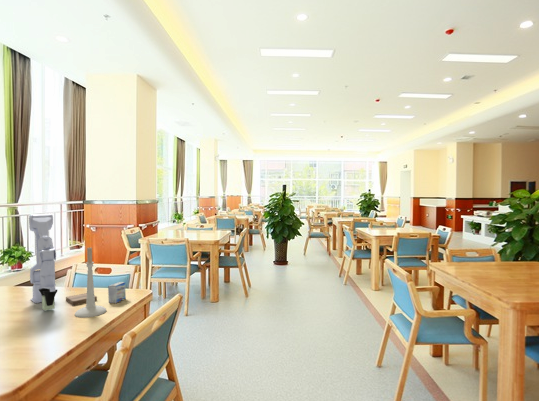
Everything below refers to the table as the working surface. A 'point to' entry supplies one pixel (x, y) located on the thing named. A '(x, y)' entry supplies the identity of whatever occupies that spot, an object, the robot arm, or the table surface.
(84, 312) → the candlestick
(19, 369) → the table surface
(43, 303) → the sage block
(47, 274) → the robot arm
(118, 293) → the medicine box
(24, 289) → the table surface
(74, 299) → the walnut block
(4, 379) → the table surface
